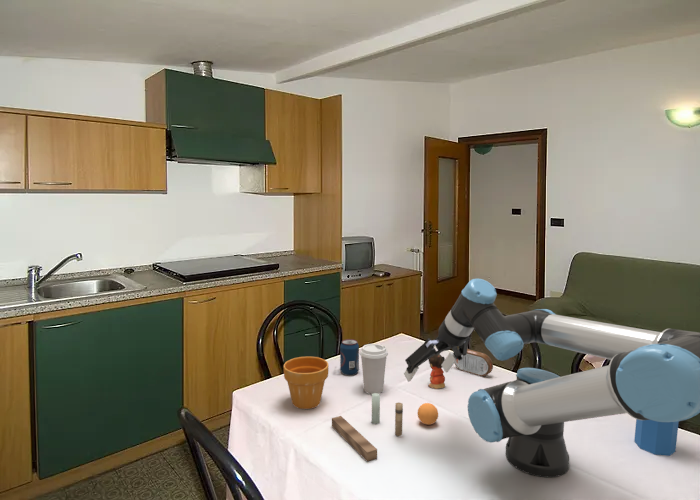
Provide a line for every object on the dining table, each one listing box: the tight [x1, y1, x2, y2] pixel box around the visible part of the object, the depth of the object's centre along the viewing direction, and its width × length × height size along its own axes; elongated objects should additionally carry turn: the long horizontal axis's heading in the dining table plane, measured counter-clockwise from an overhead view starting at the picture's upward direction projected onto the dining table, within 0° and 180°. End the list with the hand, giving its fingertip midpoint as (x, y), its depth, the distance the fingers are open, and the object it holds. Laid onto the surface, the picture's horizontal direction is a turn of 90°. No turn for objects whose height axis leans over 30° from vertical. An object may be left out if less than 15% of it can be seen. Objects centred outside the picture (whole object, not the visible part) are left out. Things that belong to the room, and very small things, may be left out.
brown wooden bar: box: [331, 415, 378, 462], centre depth 129 cm, size 20×3×2 cm, turn 29°
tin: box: [454, 348, 494, 377], centre depth 175 cm, size 15×3×8 cm, turn 49°
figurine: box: [427, 353, 446, 390], centre depth 163 cm, size 6×6×12 cm
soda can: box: [339, 338, 360, 376], centre depth 175 cm, size 7×7×12 cm
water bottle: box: [633, 419, 680, 457], centre depth 125 cm, size 9×9×25 cm
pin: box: [394, 402, 404, 437], centre depth 132 cm, size 2×2×9 cm
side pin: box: [371, 393, 381, 425], centre depth 139 cm, size 2×2×8 cm
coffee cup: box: [359, 343, 389, 395], centre depth 160 cm, size 10×10×15 cm
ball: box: [417, 402, 439, 426], centre depth 138 cm, size 6×6×6 cm
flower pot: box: [283, 356, 329, 410], centre depth 151 cm, size 14×14×13 cm
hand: (426, 373), depth 137 cm, fingers open, 13 cm apart
